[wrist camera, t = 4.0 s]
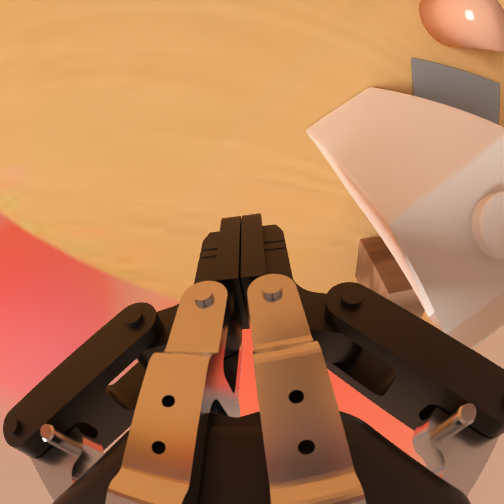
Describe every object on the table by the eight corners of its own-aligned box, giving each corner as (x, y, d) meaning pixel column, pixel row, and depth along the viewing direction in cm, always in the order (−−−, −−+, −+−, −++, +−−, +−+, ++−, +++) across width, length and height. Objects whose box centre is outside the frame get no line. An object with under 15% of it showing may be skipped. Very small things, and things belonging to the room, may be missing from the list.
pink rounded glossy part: (414, -12, 11) (461, -24, 5) (458, 5, 10) (505, 3, 5) (423, 39, 14) (474, 39, 9) (465, 52, 14) (515, 60, 8)
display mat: (411, 58, 16) (412, 58, 15) (498, 83, 15) (499, 83, 14) (404, 214, 25) (405, 216, 25) (482, 208, 24) (484, 209, 24)
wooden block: (359, 239, 27) (388, 293, 20) (400, 234, 27) (435, 284, 20) (355, 275, 30) (377, 329, 23) (393, 269, 30) (420, 319, 23)
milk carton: (406, 151, 21) (560, 294, 6) (348, 191, 24) (458, 381, 8) (370, 85, 18) (586, 175, 2) (304, 129, 20) (447, 313, 5)
